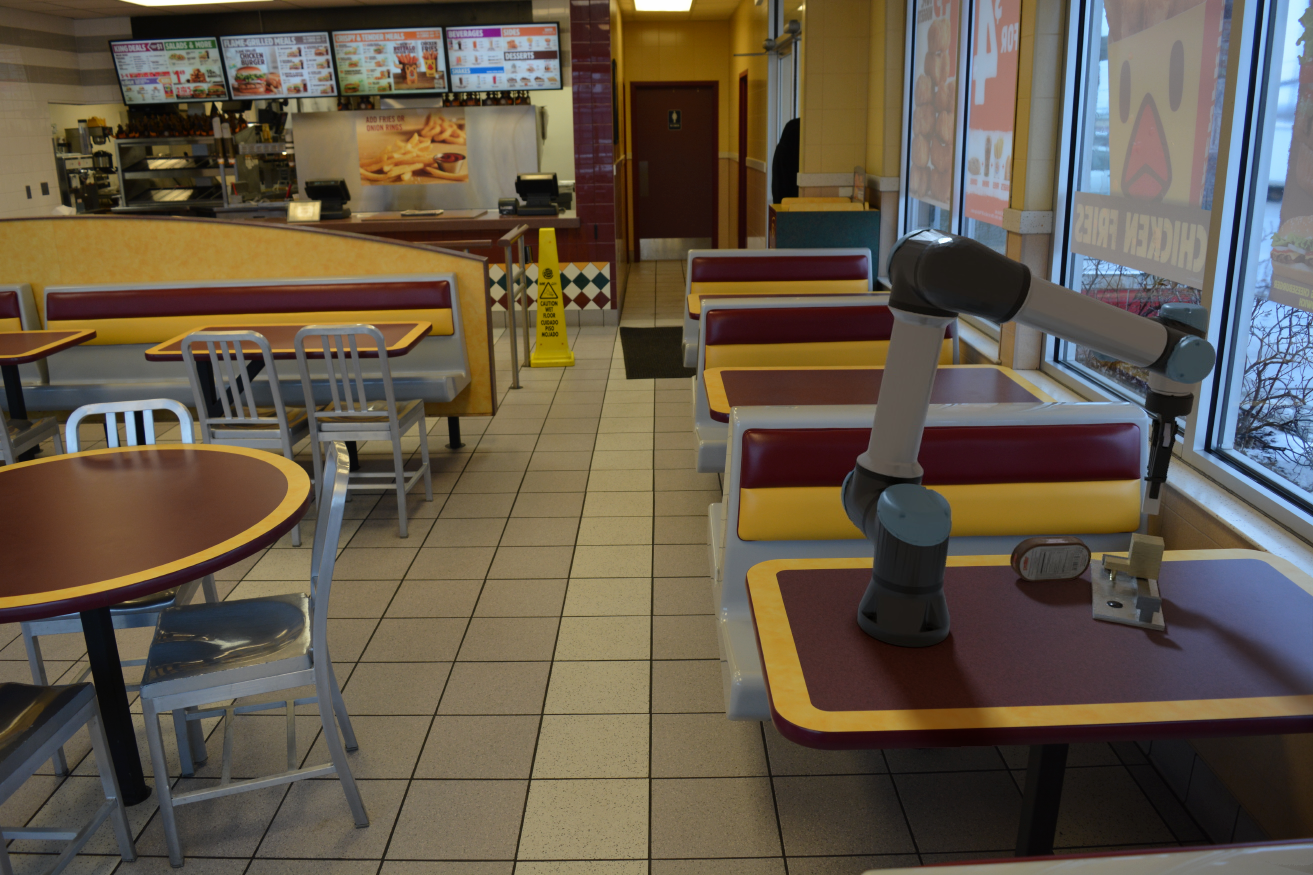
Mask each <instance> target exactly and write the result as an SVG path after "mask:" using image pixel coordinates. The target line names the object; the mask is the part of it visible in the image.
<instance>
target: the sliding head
mask: <svg viewBox="0 0 1313 875" xmlns="http://www.w3.org/2000/svg"><path fill="white" fill-rule="evenodd" d="M1131 534H1132V535H1131V539H1130V545H1129V550H1128V556H1127V558H1128V560H1126V559H1119V558H1113V557H1107V556H1105V562H1104V566H1105V568H1106V569H1112V571H1111V576H1110V580H1112V581H1116V577H1117V572H1118V571H1124V572H1127V575H1129V576H1135V577H1141V578H1147V579H1153V580H1156V581H1159V577H1160V571H1161V567H1162V561H1163V556H1164V552H1165V542H1164V541H1165V540H1164V537H1162V536H1154V535H1149V534H1142V533H1138V532H1137V533H1136V532H1132V533H1131Z"/></svg>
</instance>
